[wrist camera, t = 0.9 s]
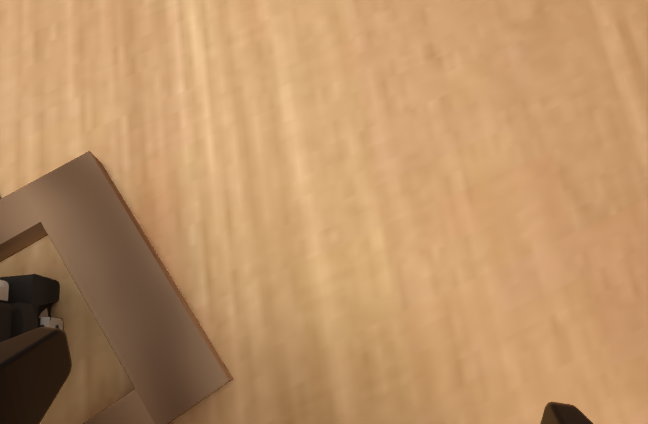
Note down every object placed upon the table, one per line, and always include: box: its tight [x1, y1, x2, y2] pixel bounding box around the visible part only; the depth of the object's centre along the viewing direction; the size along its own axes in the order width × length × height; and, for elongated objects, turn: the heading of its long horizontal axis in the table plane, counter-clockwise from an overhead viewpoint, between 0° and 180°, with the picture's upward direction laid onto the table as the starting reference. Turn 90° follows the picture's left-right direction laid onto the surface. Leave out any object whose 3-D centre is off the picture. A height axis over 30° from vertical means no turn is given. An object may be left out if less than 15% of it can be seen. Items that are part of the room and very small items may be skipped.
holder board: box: [0, 151, 233, 424], centre depth 22 cm, size 14×13×2 cm
